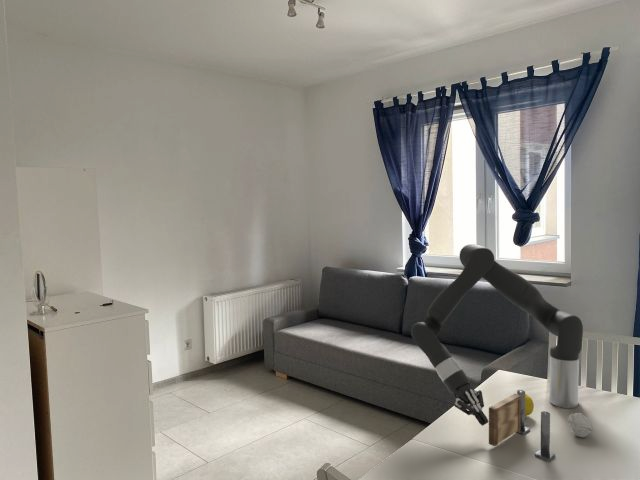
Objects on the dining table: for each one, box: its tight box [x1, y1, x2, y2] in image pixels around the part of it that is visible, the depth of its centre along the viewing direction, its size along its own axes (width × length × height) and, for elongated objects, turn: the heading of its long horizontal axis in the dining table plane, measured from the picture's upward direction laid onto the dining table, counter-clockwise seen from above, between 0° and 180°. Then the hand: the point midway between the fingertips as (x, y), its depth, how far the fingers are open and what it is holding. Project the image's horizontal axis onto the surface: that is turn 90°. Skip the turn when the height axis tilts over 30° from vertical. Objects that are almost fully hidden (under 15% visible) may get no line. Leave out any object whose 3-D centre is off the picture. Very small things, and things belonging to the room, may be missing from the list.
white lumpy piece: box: [568, 412, 593, 438], centre depth 149 cm, size 6×7×7 cm
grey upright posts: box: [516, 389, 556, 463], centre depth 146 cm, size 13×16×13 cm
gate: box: [488, 393, 521, 447], centre depth 147 cm, size 15×2×11 cm, turn 129°
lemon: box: [525, 393, 535, 418], centre depth 163 cm, size 6×6×8 cm
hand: (485, 423), depth 148 cm, fingers closed
